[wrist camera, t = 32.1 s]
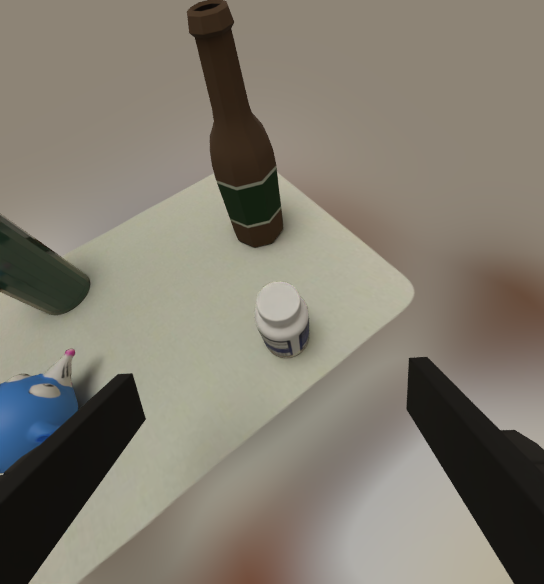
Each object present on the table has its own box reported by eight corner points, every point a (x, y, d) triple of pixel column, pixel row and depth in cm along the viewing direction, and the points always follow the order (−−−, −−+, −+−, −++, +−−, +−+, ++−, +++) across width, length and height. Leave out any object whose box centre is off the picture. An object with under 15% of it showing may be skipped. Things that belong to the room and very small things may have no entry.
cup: (44, 324, 36) (-106, 263, 23) (39, 287, 39) (-93, 216, 26) (94, 297, 37) (-21, 225, 24) (85, 264, 41) (-20, 185, 28)
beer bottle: (266, 204, 42) (225, -18, 21) (294, 231, 39) (278, -5, 18) (226, 227, 41) (141, 13, 20) (251, 257, 37) (180, 35, 16)
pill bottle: (294, 308, 32) (289, 264, 24) (317, 343, 30) (321, 308, 21) (256, 329, 32) (238, 291, 23) (277, 367, 29) (265, 340, 21)
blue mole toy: (137, 372, 31) (84, 353, 24) (74, 487, 26) (-18, 509, 18) (65, 345, 34) (-2, 321, 27) (-4, 443, 29) (-110, 447, 22)
